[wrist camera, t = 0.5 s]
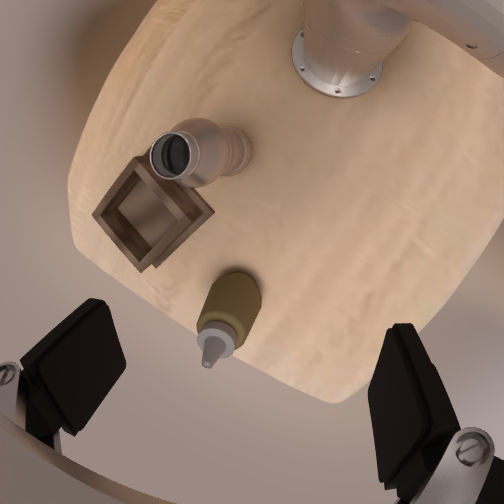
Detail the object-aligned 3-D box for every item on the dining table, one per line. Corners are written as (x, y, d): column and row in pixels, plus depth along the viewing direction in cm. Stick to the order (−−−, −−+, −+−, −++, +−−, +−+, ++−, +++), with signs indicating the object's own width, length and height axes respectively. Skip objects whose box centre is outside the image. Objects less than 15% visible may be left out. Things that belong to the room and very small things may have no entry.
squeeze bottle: (206, 291, 47) (161, 362, 30) (231, 255, 44) (191, 320, 27) (246, 318, 47) (220, 398, 31) (275, 285, 44) (259, 363, 28)
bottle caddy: (106, 206, 44) (85, 214, 39) (154, 145, 40) (134, 146, 34) (158, 266, 47) (141, 281, 41) (215, 212, 42) (201, 222, 36)
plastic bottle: (204, 169, 40) (128, 190, 21) (214, 123, 37) (142, 107, 19) (247, 179, 39) (200, 209, 21) (259, 133, 37) (220, 118, 18)
